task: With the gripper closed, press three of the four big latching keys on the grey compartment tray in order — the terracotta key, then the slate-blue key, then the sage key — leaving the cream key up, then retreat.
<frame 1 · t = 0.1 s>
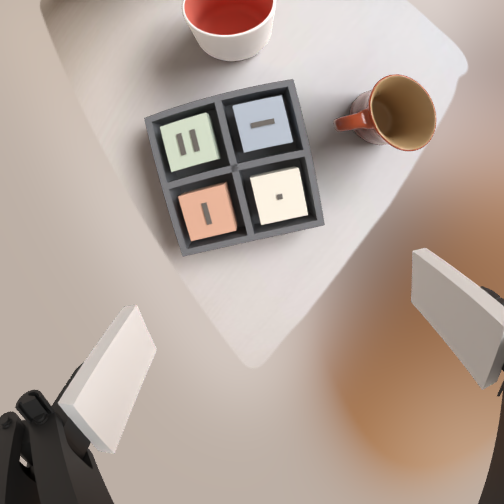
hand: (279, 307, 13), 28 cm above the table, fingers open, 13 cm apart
mug: (360, 121, 35), on the table
sage key: (191, 142, 32), point 4 cm above the table, slide at 0.0 cm
cup: (234, 33, 31), on the table
cream key: (278, 194, 34), point 4 cm above the table, slide at 0.0 cm
grey compartment tray: (237, 165, 37), on the table
terracotta key: (209, 210, 35), point 4 cm above the table, slide at 0.0 cm
slate key: (262, 124, 31), point 4 cm above the table, slide at 0.0 cm
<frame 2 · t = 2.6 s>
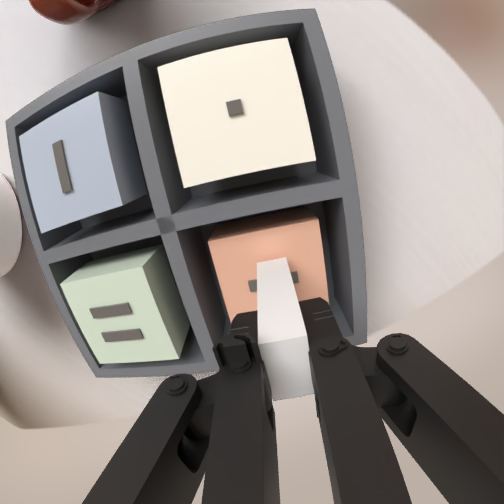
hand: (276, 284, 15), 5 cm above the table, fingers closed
sage key: (126, 307, 16), point 4 cm above the table, slide at 0.0 cm
cream key: (237, 112, 12), point 4 cm above the table, slide at 0.0 cm
grey compartment tray: (189, 204, 18), on the table
terracotta key: (271, 268, 17), point 3 cm above the table, slide at 1.8 cm, touching gripper
slate key: (79, 163, 13), point 4 cm above the table, slide at 0.0 cm
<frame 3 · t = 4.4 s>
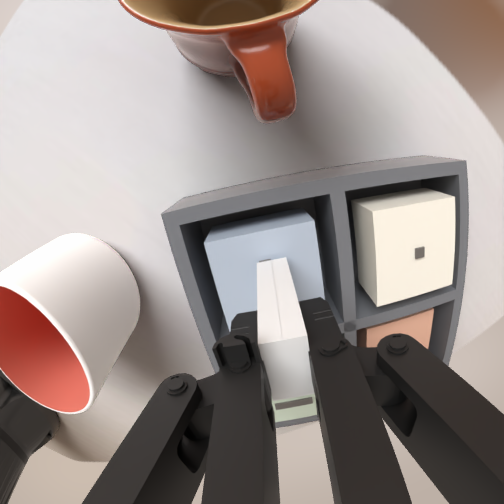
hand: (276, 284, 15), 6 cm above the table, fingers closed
mug: (241, 54, 16), on the table
sage key: (290, 379, 19), point 4 cm above the table, slide at 0.0 cm
cup: (93, 285, 22), on the table
cream key: (406, 243, 16), point 4 cm above the table, slide at 0.0 cm
grey compartment tray: (330, 289, 22), on the table
terracotta key: (391, 337, 20), point 2 cm above the table, slide at 1.9 cm
slate key: (267, 270, 17), point 4 cm above the table, slide at 0.4 cm, touching gripper
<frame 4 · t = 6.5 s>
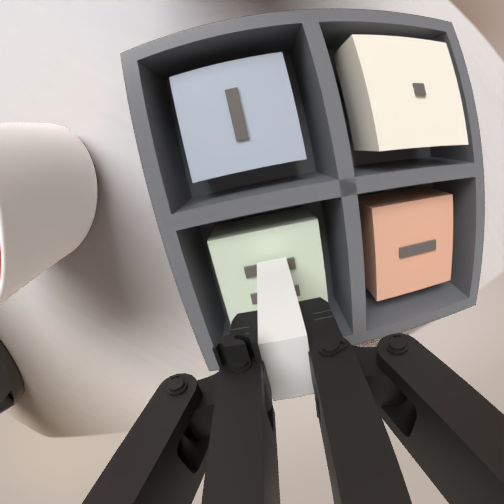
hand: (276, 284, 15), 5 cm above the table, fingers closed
sage key: (270, 268, 17), point 3 cm above the table, slide at 1.8 cm, touching gripper
cup: (53, 189, 18), on the table
cream key: (403, 94, 12), point 4 cm above the table, slide at 0.0 cm
grey compartment tray: (322, 176, 17), on the table
terracotta key: (405, 239, 16), point 2 cm above the table, slide at 1.9 cm
slate key: (238, 117, 14), point 2 cm above the table, slide at 1.9 cm
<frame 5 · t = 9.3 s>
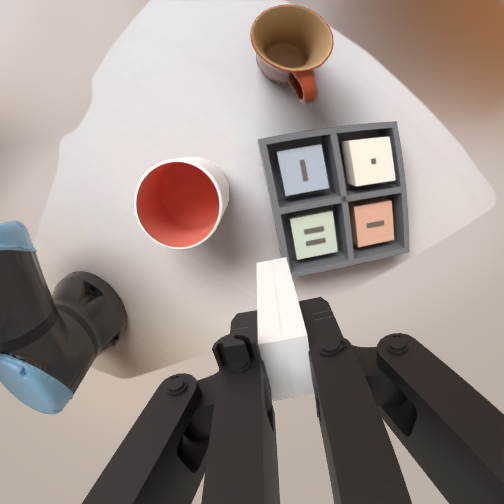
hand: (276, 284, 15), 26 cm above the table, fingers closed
mug: (287, 72, 34), on the table
sage key: (312, 232, 39), point 2 cm above the table, slide at 1.9 cm
cup: (194, 192, 40), on the table
cream key: (368, 160, 33), point 4 cm above the table, slide at 0.0 cm
grey compartment tray: (333, 193, 39), on the table
terracotta key: (370, 221, 38), point 2 cm above the table, slide at 1.9 cm
slate key: (301, 169, 36), point 2 cm above the table, slide at 1.9 cm
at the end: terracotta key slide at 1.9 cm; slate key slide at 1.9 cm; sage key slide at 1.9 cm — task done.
